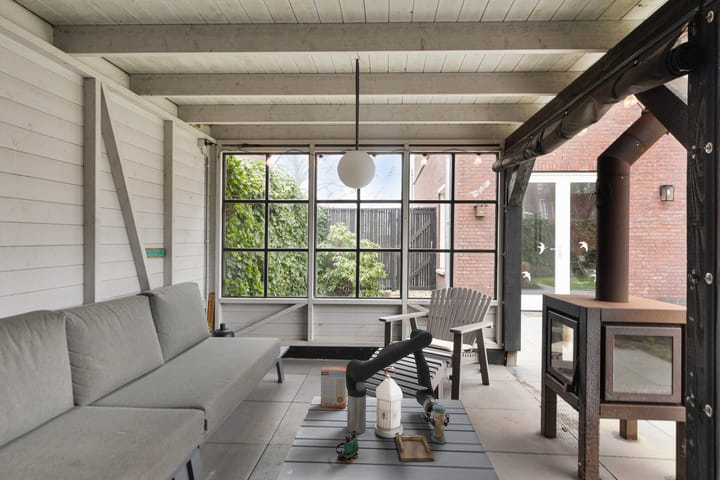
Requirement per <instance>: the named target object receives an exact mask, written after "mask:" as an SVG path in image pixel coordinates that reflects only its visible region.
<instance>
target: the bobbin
mask: <svg viewBox="0 0 720 480" xmlns="http://www.w3.org/2000/svg"><path fill="white" fill-rule="evenodd" d="M433 410H434V421H435V427H433V433H432V435H430V441H431V442H433V443H434V444H438V445H442V444H446V443H447V437H446V436H445V426H444V417H445V416H444V414H445V412H446V410H447V408H446V406H445V405H442V404H438V405H433Z"/></svg>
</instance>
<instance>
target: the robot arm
mask: <svg viewBox="0 0 720 480" xmlns="http://www.w3.org/2000/svg"><path fill="white" fill-rule="evenodd" d="M432 343H433V335H432V333H431V332H430V331H428V330H426V329H421V328H414V329H412V330H411V332H410V334H409V339H405V340H401V341H396V342H392V343H391V344H389V345H386V346H384V347H382V349H380V351H379V352H378V353H377V355H376V356H375V357H373V358H372V359H370V360H369V361H365V362H363V361H361V360H358V359H351V360H350V361H349V362H348V363H347V365H346V367H345V368H346V388H347V404H346V407H347V409H346V413H347V414H346V416H347V417H346V418H347V419H346V432H347V433H351V432H352V431H356V435H358V434H361V433H362V434H363V433H364V432H366V430H367V387H366V386H365V384H364V382H366V381H367V380H369V379H370V378H372V377H373V376H374V375H376V374H378V373H379V372H380V371H382V370H384V369H386V368H388V367H390V366H391V365H393V364H396V363H397V362H399V361H401V360H402V359H405V358H406V357H408V356H410V355H412V354H413V357H414V362H415V368H416V377H417V385H418V386H420V387H426V388H422V389H417V390H416V392H415V399H416V402H417V403H418V404H419V405H420V406H421V407H423V409H424V412H421V419H422V420H423V421H424V422H425V423H426V424H428V423H430V425H431V426H432V427H433V428H434V427H435V421H434V410H433V405H439V403H438V402H437V401H436V398H437V397H436V393H435V391H434V387H433V384H432V380H431V371H430V366H429V364H428V362H427V360H426V357H425V354H424V351H423V349H426V348H428V347H429V346H430V345H431V344H432ZM448 423H449V424H450V412H448V411H447V412H446V413H444V428H445V427H446V428H447V427H448Z"/></svg>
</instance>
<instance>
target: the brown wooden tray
mask: <svg viewBox="0 0 720 480" xmlns="http://www.w3.org/2000/svg"><path fill="white" fill-rule="evenodd" d="M397 435H398V436H396V439H395V441H396V445H397V451H398V454H399V458H400V461H402V462H419V461H420V462H433V461H435V456H434V453H433V452H432V449H431V447H430V444H429V442H428V439H427V437H426V434H397Z"/></svg>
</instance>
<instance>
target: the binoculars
mask: <svg viewBox="0 0 720 480" xmlns="http://www.w3.org/2000/svg"><path fill="white" fill-rule="evenodd" d="M350 434H351V436H348V435H346V436H344V437H345V440H346V441H344V442H340V443H338V444H337V445H336V446H335V453H336V454H338V455H337V459H338V460H345V461H346V463H347V464H352V463H353V462H354V461H353V459H358V458H359V453H358V452H359V449H360V448H359V441H358V436H357V434H356V431H352V432H350ZM341 446H343V450H338V448H339V447H341Z"/></svg>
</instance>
